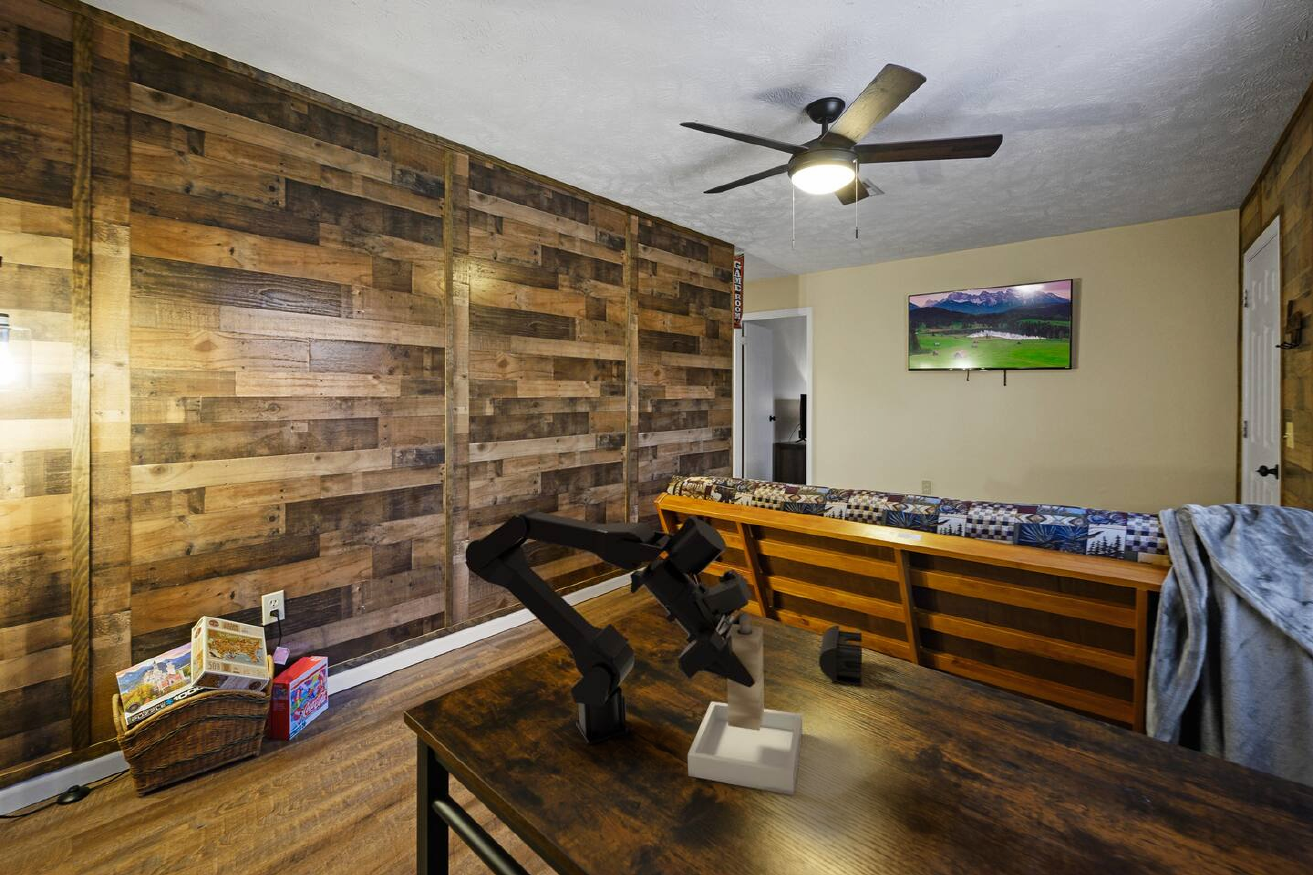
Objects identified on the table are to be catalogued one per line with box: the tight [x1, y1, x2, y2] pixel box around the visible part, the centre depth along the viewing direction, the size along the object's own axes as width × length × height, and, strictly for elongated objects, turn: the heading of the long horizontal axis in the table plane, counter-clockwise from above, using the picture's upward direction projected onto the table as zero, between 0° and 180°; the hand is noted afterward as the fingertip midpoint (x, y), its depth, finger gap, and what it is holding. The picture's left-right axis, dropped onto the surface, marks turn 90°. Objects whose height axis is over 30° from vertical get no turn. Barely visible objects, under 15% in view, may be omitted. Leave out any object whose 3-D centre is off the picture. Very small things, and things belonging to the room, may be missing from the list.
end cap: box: [818, 625, 863, 687], centre depth 105 cm, size 10×7×7 cm
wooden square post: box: [726, 612, 765, 731], centre depth 81 cm, size 4×4×16 cm
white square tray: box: [687, 701, 803, 796], centre depth 82 cm, size 14×14×3 cm
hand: (755, 676), depth 81 cm, fingers closed on wooden square post, 4 cm apart
